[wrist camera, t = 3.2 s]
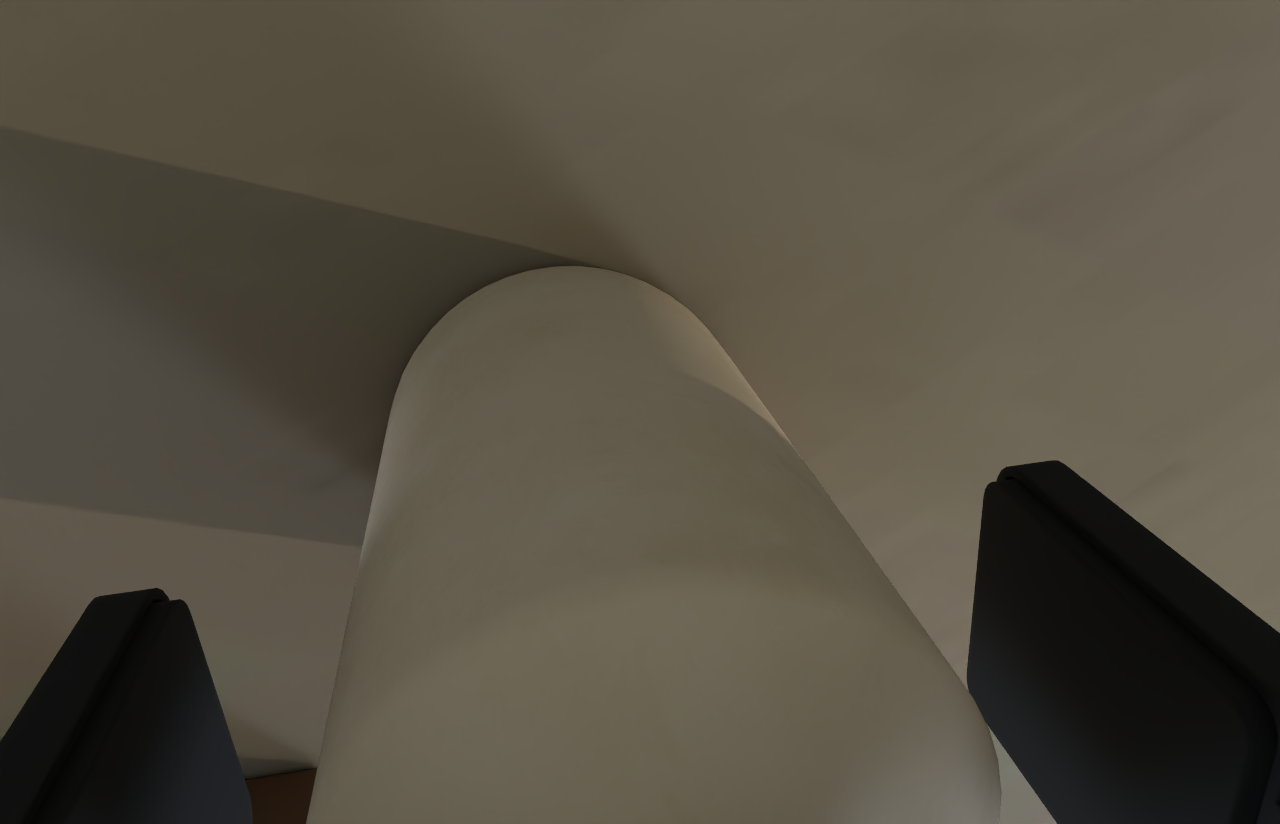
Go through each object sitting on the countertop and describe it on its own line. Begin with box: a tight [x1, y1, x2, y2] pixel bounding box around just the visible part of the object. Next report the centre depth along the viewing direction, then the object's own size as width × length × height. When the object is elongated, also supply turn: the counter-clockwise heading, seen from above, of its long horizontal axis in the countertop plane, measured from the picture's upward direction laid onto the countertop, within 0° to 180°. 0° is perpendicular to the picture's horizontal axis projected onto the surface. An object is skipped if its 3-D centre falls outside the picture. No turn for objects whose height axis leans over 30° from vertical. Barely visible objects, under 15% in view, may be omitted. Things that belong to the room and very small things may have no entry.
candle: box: [306, 266, 1001, 824], centre depth 10 cm, size 6×6×10 cm
